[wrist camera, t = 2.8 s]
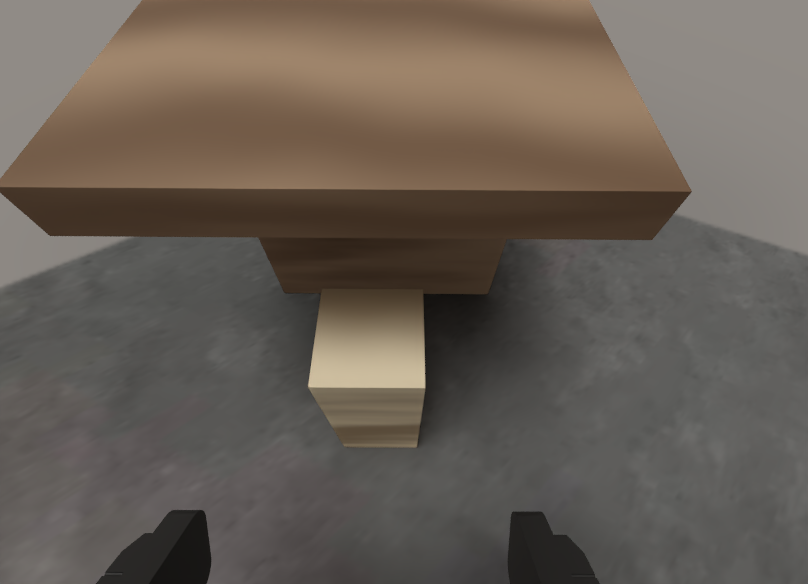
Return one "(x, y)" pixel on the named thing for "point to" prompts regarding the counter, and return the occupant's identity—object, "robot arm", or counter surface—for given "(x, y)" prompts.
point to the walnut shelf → (355, 137)
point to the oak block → (370, 365)
